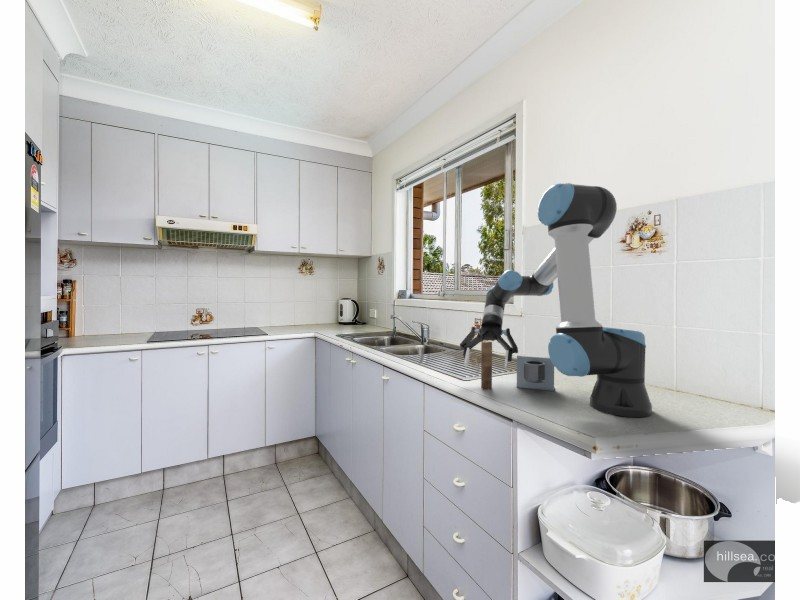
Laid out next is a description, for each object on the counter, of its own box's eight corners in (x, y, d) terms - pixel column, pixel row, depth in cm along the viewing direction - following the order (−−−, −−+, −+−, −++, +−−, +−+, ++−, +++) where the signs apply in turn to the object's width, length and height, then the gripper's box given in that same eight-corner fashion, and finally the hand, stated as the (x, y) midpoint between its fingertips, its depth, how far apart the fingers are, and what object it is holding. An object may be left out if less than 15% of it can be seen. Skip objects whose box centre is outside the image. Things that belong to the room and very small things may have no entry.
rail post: (493, 388, 122) (494, 342, 122) (485, 389, 121) (485, 343, 120) (487, 386, 125) (488, 341, 125) (479, 387, 124) (479, 341, 124)
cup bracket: (525, 376, 123) (525, 359, 123) (545, 377, 120) (545, 360, 120) (523, 381, 115) (523, 363, 115) (544, 383, 113) (544, 365, 112)
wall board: (518, 383, 129) (518, 353, 128) (554, 387, 124) (554, 355, 124) (516, 387, 124) (516, 355, 124) (553, 390, 119) (554, 358, 119)
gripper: (527, 327, 133) (524, 375, 119) (462, 324, 143) (452, 369, 129) (526, 314, 128) (523, 363, 114) (458, 312, 138) (448, 357, 124)
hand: (485, 366), depth 122 cm, fingers open, 13 cm apart
